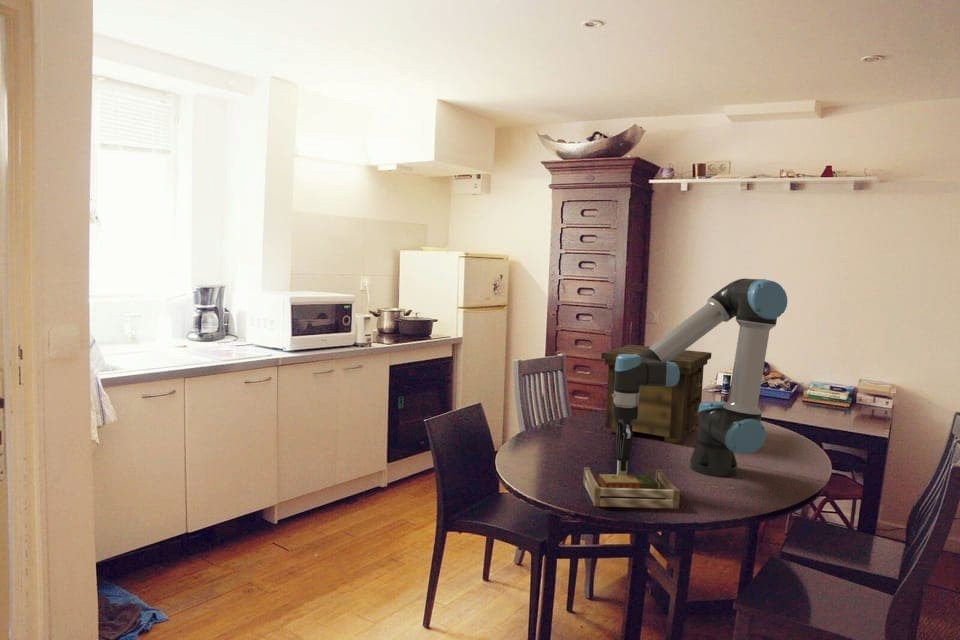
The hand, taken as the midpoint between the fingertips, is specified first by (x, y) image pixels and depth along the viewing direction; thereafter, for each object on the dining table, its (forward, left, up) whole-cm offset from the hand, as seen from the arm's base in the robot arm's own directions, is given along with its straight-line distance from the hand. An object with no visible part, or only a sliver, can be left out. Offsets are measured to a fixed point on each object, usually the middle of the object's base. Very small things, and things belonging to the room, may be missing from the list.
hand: (621, 480), depth 196 cm
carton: (-1, +5, -2) cm, 5 cm away
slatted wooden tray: (0, +9, -2) cm, 9 cm away
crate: (-28, -66, -2) cm, 72 cm away
